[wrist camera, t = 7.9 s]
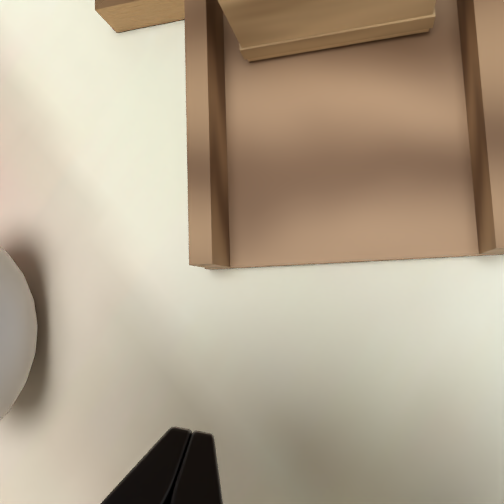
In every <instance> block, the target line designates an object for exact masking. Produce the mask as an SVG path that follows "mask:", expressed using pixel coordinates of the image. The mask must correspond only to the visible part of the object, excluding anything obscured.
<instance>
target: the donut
mask: <svg viewBox="0 0 504 504" xmlns="http://www.w3.org/2000/svg"><path fill="white" fill-rule="evenodd" d="M37 329H38V325H37V318H36V311H35V304H34V299H33V297H32V294H31V292H30V289H29V287H28V284H27V282H26V279H25V277H24V275H23V273H22V272H21V270H20V269H19V268H18V266H17V265H16V264H15V262H14V261H13V260H12V258H11V257H10V256H9V254H8V253H7V252H6V251H5V250H4V249H3V248H1V247H0V420H1V419H2V418H3V417H4V416H5V415H6V414H7V413H8V412H9V410H10V409H11V407H12V405H13V404H14V402H15V400H16V399H17V397H18V395H19V394H20V392H21V390H22V389H23V387H24V385H25V383H26V381H27V378H28V375H29V372H30V369H31V366H32V363H33V360H34V356H35V352H36V341H37Z"/></svg>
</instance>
